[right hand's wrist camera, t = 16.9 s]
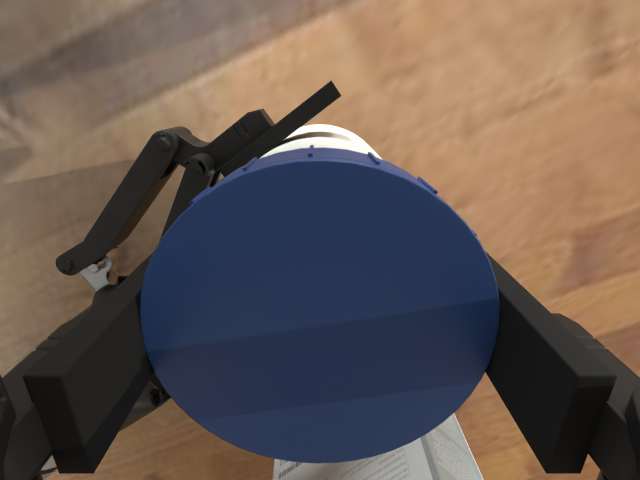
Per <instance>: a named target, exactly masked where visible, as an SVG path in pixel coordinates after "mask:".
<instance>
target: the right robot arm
mask: <svg viewBox="0 0 640 480" xmlns="http://www.w3.org/2000/svg"><path fill="white" fill-rule="evenodd" d="M153 253H154V252H153ZM153 253H152V254H151V255H150V256H149V257H148V258H147V259H146V260H145V261H144V262H143V263H142V264H141V265H140V266H138V267H137V268H136V269H135V270H134V271H133V272H132V273H131V274H130V275H129V276H128V277H127V278H126V279H125V280H124V281H123V282H122V283H120V284H119V285H118V286H117V287H116V288H115V289H114V290H113V291H112V292H111V293H110V294H109V295H108V296H107V297H106V298H105V299H103V300H102V301H101V302H100V303H99V304H98V305H97V306H96V307H95V308H94V309H93V310H92V311H91V312H90V313H89V314H88V315H79V316H77V317H75V318H74V319H72V320H70V321H68V322H66V323H65V324H63V325H61V326H60V327H59V328H58V329H57V330H56V331H54V332H53V333H52V334H51V335H50V336H49V337H48V338H47V340H44V341H43V342H42V343H41V344H40V345H39V346H38V347H36V350H35V351H32V352H31V353H30V354H29V355H27V356H26V357H25V358H24V359H23V360H22V361H21V362H20V363H18V364H17V365H16V366H15V367H14V368H13V369H12V370H11V371H9V372H8V373H7V374H6V375H5V376H4V377H3V378H1V375H0V480H43V478H42V475H41V473H40V470H41V469H42V468H43V466H44V465H45V464H46V462H47V461H48V460H49V458H50V457H51V456H53V458H54V461H55V464H56V466H57V469H58V471H59V473H94V472H95V470H96V468H97V467H98V465H99V463H100V462H101V460H102V458H103V457H104V455H105V453H106V452H107V450H108V448H109V447H110V445H111V443H112V442H113V440H114V438H115V437H116V435H117V433H118V432H119V430H120V428H121V427H122V425H123V423H124V422H125V420H126V418H127V417H128V415H129V413H130V412H131V410H132V408H133V407H134V405H135V403H136V402H137V400H138V398H139V397H140V395H141V393H142V392H143V390H144V388H145V387H146V385H147V383H148V382H149V380H150V378H151V377H152V375H153V373H154V370H153V367H152V365H151V363H150V360H149V358H148V356H147V353H146V349H145V345H144V341H143V336H142V331H141V323H140V300H141V291H142V286H143V282H144V277H145V273H146V271H147V268H148V265H149V263H150V260H151V258H152V255H153ZM485 253H486V252H485ZM486 255H487V257H488V259H489V260H490V263H491V266H492V269H493V272H494V276H495V279H496V282H497V288H498V295H499V302H500V318H499V329H498V335H497V340H496V344H495V348H494V351H493V354H492V357H491V360H490V363H489V365H488V367H487V369H486V371H485V372H486V374H487V375H488V377H489V379H490V380H491V382H492V384H493V385H494V387H495V389H496V390H497V392H498V394H499V395H500V397H501V399H502V400H503V402H504V404H505V405H506V407H507V409H508V410H509V412H510V414H511V415H512V417H513V419H514V420H515V422H516V424H517V425H518V427H519V429H520V430H521V432H522V434H523V435H524V437H525V439H526V440H527V442H528V444H529V445H530V447H531V449H532V450H533V452H534V454H535V455H536V457H537V459H538V460H539V462H540V464H541V465H542V467H543V469H544V470H545V472H546V473H581V471H582V468H583V465H584V463H585V460H586V458H587V455H588V454H589V455H590V457H591V458H592V459H593V461H594V462H595V463H596V465H597V466H598V467H599V469H600V473H599V475H598V478H597V480H640V378H639V377H638V376H637V375H636V374H635V373H634V372H633V371H631V370H630V369H629V368H628V367H627V366H626V365H625V364H624V363H622V362H621V361H620V360H619V359H618V358H617V357H616V356H614V355H613V354H612V353H611V352H610V351H609V350H608V349H605V348H604V346H603V345H602V344H601V343H600V342H599V341H597V340H596V339H593V336H592V335H591V334H590V333H588V332H587V331H586V330H585V329H584V328H583V327H582V326H580V325H579V324H578V323H576V322H574V321H572V320H571V319H569V318H567V317H565V316H563V315H561V314H551V313H550V312H549V311H548V310H547V309H546V308H545V307H544V306H543V305H542V304H541V303H539V302H538V301H537V300H536V299H535V298H534V297H533V296H532V295H531V294H530V293H529V292H528V291H527V290H526V289H525V288H524V287H522V286H521V285H520V284H519V283H518V282H517V281H516V280H515V279H514V278H513V277H512V276H511V275H510V274H509V273H508V272H507V271H506V270H504V269H503V268H502V267H501V266H500V265H499V264H498V263H497V262H496V261H495V260H494V259H493V258H492V257H491V256H490V255H489V254H487V253H486Z"/></svg>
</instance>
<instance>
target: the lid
mask: <svg viewBox="0 0 640 480" xmlns="http://www.w3.org/2000/svg"><path fill="white" fill-rule="evenodd" d="M437 193H438V191H436V190H435V189H434V188H433V187H431V186H430V185H429V184H428V183H426V182H425V181H424V180H423V179H422V178H420V177H418V178H417V179H416V178H415V177H414V176H412V175H411V174H410V173H408V172H406V171H404V170H403V169H401V168H399V167H397V166H395V165H394V164H392V163H390V162H387V161H385V160H382V159H379V158H377V157H375V156H374V155H373V154H372V153H371V152H368V154H364V153H360V152H356V151H351V150H347V149H337V148H326V147H320V148H314V145H310V148H300V149H295V150H289V151H283V152H278V153H275V154H272V155H269V156H266V157H263V158H260V159H257V157H254V158H253V159H252V160H251V161H250V162H249V163H247V164H246V165H244V166H242V167H240V168H238V169H237V170H235V171H234V172H232V173H231V174H229V175H228V176H226V177H225V178H223V179H222V180H220V181H219V182H218V183H217V184H215V185H214V186H213V187H212V188H211V187H210V186H208V187H207V188H206V189H205V190H204V191H202V192H201V193H200V194H199V195H197V196H196V197H195V198H194V199H193V200H191V201H190V202H189V203H190V204H191V206H190V207H189V208H188V209H187V210H186V211H184V212H183V213H182V214H181V215H180V216H179V217H178V218H177V220H176V221H175V222H174V223H173V224H172V226H171V227H170V228H169V229H168V231H167V232H166V233H165V234H164V236H163V238H162V239H161V241H160V243H159V244H158V246H157V248H156V250H155V251H154V253H153V255H152V258H151V260H150V263H149V265H148V268H147V271H146V273H145V277H144V282H143V286H142V291H141V300H140V323H141V331H142V336H143V341H144V345H145V349H146V353H147V356H148V358H149V360H150V363H151V365H152V367H153V370H154V372H155V374H156V375H157V377H158V379H159V380H160V382H161V384H162V385H163V387H164V389H165V390H166V391H167V392H168V394H169V395H170V396H171V397H172V399H173V400H174V401H175V402H176V404H177V405H178V406H179V407H180V408H181V409H182V410H183V411H184V412H185V413H186V414H188V415H189V416H190V417H191V418H192V419H193V420H195V421H196V422H197V423H198V424H200V425H201V426H202V427H204V428H205V429H206V430H208V431H209V432H211V433H213V434H214V435H216V436H218V437H219V438H221V439H223V440H225V441H227V442H229V443H231V444H233V445H235V446H237V447H239V448H242V449H245V450H248V451H250V452H253V453H256V454H259V455H263V456H267V457H271V458H274V459H279V460H286V461H292V462H301V463H339V462H347V461H355V460H360V459H365V458H369V457H374V456H377V455H380V454H383V453H387V452H390V451H393V450H395V449H397V448H400V447H402V446H404V445H407V444H409V443H411V442H413V441H415V440H417V439H418V438H420V437H422V436H424V435H426V434H427V433H429V432H430V431H432V430H433V429H434V428H436V427H437V426H439V425H440V424H442V423H443V422H444V421H445V420H446V419H448V418H449V417H450V416H451V415H452V414H453V413H454V412H455V411H456V410H458V409H459V407H460V406H461V405H462V404H463V403H464V402H465V401H466V399H467V398H468V397H469V396H470V395H471V394H472V392H473V391H474V389H475V388H476V386H477V385H478V383H479V382H480V380H481V379H482V377H483V375H484V373H485V371H486V369H487V367H488V365H489V363H490V360H491V357H492V354H493V351H494V348H495V344H496V340H497V335H498V329H499V318H500V302H499V295H498V288H497V282H496V279H495V276H494V272H493V269H492V266H491V263H490V260H489V259H488V257H487V255H486V253H485V251H484V249H483V247H482V245H481V243H480V241H479V240H478V238H477V237H476V236H477V235H476V233H475V232H473V231H472V230H471V229H470V227H469V226H468V224H467V223H466V222H465V221H464V220H463V219H462V218H461V217H460V216H459V215H458V214H457V213H456V212H455V211H454V210H453V209H452V208H451V207H450V206H449V205H448V204H447V203H446V202H444V201H443V200H442V199H441V198H440V197H439V196H437V195H436V194H437Z"/></svg>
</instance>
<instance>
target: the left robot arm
mask: <svg viewBox="0 0 640 480" xmlns="http://www.w3.org/2000/svg"><path fill="white" fill-rule="evenodd" d="M340 96H341V95H340V93H339V92H338V90H337V88H336V87H335V85H334V84H333V82H332V81H330V82H329V83H328V84H326V85H325V86H324V87H322V88H321V89H320V90H319V91H317V92H316V93H315V94H314V95H312V96H311V97H310V98H308V99H307V100H306V101H305V102H303V103H302V104H301V105H299V106H298V107H297V108H296V109H294V110H293V111H292V112H291V113H289V114H288V115H287V116H285V117H284V118H283V119H282V120H280V121H279V122H278V123H276V124H274V122H273V121H272V120H271V118H270V117H269V116H268V114H267V113H266V112H265V110H264V109H260V110H256V111H252V112H248V113H247V114H246V115H244V116H243V117H242V118H241V119H239V120H238V121H237V122H236V123H234V124H233V125H232V126H231V127H229V128H228V129H227V130H226V131H225V132H223V133H222V134H221V135H220V136H218V137H217V138H216V139H215V140H213V141H212V142H211V143H207V142H203V141H201V140H199V139H198V138H196V137H195V136H193V135H192V133H191V132H190V131H189V130H188V129H187V128H185V127H180V126H179V127H175V128H170V129H165V130H161V131H158V132H155V133H154V134H153V135H152V137H151V138H150V140H149V141H148V143H147V144H146V146H145V147H144V149H143V150H142V152H141V153H140V155H139V157H138V158H137V160H136V161H135V163H134V164H133V166H132V167H131V169H130V170H129V172H128V173H127V175H126V176H125V178H124V180H123V181H122V183H121V184H120V186H119V187H118V189H117V190H116V192H115V193H114V195H113V196H112V198H111V200H110V201H109V203H108V204H107V206H106V207H105V209H104V210H103V212H102V213H101V215H100V216H99V218H98V219H97V221H96V223H95V224H94V226H93V227H92V229H91V230H90V232H89V233H88V235H87V236H86V238H85V239H84V241H83V242H81V243H80V244H78V245H77V246H75V247H73V248H72V249H70V250H68V251H67V252H65V253H64V254H62V255H60V256H59V257H58V258H57V259H56V266H57V268H58V269H59V271H61V272H62V273H63V274H66V275H75V274H77V273H78V272H79V273H80V274H81V275H82V276H83V277H84V279H85V280H86V281H87V282H88V283H89V284H90V285H91V286H92V287H93V288H94V290H95V291H96V293H95V295H94V298H93V302H92V305H91V306H89V307H88V308H87V309H86V310H84V311H83V312H82V313H80V314H79V315H88V314H89V313H90V312H91V311H92V310H93V309H94V308H95V307H96V306H97V305H98V304H99V303H100V302H101V301H102V300H103V299H105V298H106V297H107V296H108V295H109V294H110V293H111V292H112V291H113V290H114V289H115V288H116V287H117V286H118V285H119V284H120V283H122V282H123V281H124V280H125V279H126V278H127V277H128V276H117V275H116V273H115V266H116V265H117V263H118V262H119V260H120V253H121V250H120V248H118V247H117V246H118V245H119V244H121V243H122V242H123V241H124V240H125V239H126V238H127V237H128V236H129V235H130V234H131V232H132V231H133V229H134V228H135V227H136V225H137V224H138V222H139V221H140V219H141V218H142V217H143V215H144V214H145V212H146V211H147V209H148V208H149V206H150V205H151V204H152V202H153V201H154V199H155V198H156V196H157V195H158V194H159V192H160V191H161V189H162V188H163V186H164V185H165V184H166V182H167V181H168V179H169V178H170V176H171V175H172V173H173V172H174V171H175V169H176V168H177V166H178V165H179V164H180V165H182V166H183V167H185V168H186V169H185V172H184V175H183V178H182V180H181V183H180V186H179V189H178V192H177V194H176V197H175V200H174V203H173V205H172V208H171V211H170V214H169V217H168V219H167V222H166V225H165V228H164V230H163V233H162V236H161V239H162V238H163V236H164V234H165V233H166V232H167V231H168V229H169V228H170V227H171V226H172V224H173V223H174V222H175V221H176V220H177V218H178V217H179V216H180V215H181V214H182V213H183V212H184V211H186V210H187V209H188V208H189V207H190V206H191V204H190V203H189V202H190V201H191V200H193V199H194V198H195V197H196V196H197V195H199V194H200V193H201V192H202V191H204V190H205V189H206V188H207V187H208V186H210V187H211V188H212V187H213V186H214V185H215V184H217V182H218V180H219V177H220V175H221V173H222V174H223V176H224V177H226V176H228V175H229V174H231V173H232V172H234V171H235V170H237V169H238V168H240V167H242V166H244V165H246V164H247V163H249V162H250V161H251V160H252V159H253V158H254V157H257V159H259V158H261V157H262V156H263V155H265V154H266V153H267V152H268V151H270V150H271V149H272V148H274V147H275V146H276V145H278V144H279V143H280V142H282V141H283V140H284V139H285V138H287V137H288V136H289V135H291V134H292V133H293V132H295V131H296V130H297V129H299V128H300V127H301V126H302V125H304V124H305V123H306V122H308V121H309V120H310V119H312V118H313V117H314V116H315V115H317V114H318V113H319V112H321V111H322V110H323V109H325V108H326V107H327V106H329V105H330V104H331V103H332V102H334V101H335V100H336V99H338V98H339V97H340ZM161 239H160V241H161ZM159 243H160V242H159ZM79 315H78V316H79ZM76 317H77V316H76ZM46 340H47V339H46ZM40 344H41V343H40ZM40 344H39V345H40ZM39 345H38V346H39ZM38 346H36V347H38ZM36 347H35V348H34V349H32V350H31V351H30V352H28V353H27V354H26V355H24V356H23V357H22V358H20V359H19V360H18V361H16V362H15V363H14V364H12V365H11V366H10V367H8V368H7V369H6V370H4V371H3V372H2V373H1V374H0V375H1V378H3V377H4V376H5V375H6V374H7V373H8V372H9V371H11V370H12V369H13V368H14V367H15V366H16V365H17V364H18V363H20V362H21V361H22V360H23V359H24V358H25V357H26V356H27V355H29V354H30V353H31V352H32V351H35V350H36ZM170 398H171V396H170V395H169V394H168V392H167V391H166V390H165V389H164V387H163V385H162V384H161V382H160V380H159V379H158V377H157V375H156V374H155V372H154V373H153V375H152V377H151V378H150V380H149V382H148V383H147V385H146V387H145V388H144V390H143V392H142V393H141V395H140V397H139V398H138V400H137V402H136V403H135V405H134V407H133V408H132V410H131V412H130V413H129V415H128V417H127V418H126V420H125V422H124V423H123V425H122V427H121V428H120V430H119V431H121V430H123V429H125V428H126V427H128V426H129V425H131V424H133V423H134V422H136V421H137V420H139V419H141V418H142V417H144V416H145V415H147V414H149V413H150V412H152V411H154V410H155V409H157V408H158V407H160V406H161V405H163V404H164V403H165V402H166V401H168V400H169V399H170ZM57 470H58V469H57V466H56V464H55V461H54V458H53V456H51V457H50V458H49V460H48V461H47V462H46V464H45V465H44V466H43V468H42V469H41V470H40V473H41V475H42V478H43V479H44V478H46V477H47V476H49V475H50V474H52V473H53V472H55V471H57Z"/></svg>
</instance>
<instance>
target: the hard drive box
mask: <svg viewBox="0 0 640 480" xmlns="http://www.w3.org/2000/svg"><path fill="white" fill-rule="evenodd" d="M273 480H484V479H483V477H482V475H481V473H480V470H479V468H478V466H477V464H476V462H475V459H474V457H473V455H472V453H471V450H470V448H469V446H468V444H467V441H466V439H465V437H464V434H463V432H462V430H461V428H460V425H459V423H458V421H457V419H456V416H455V414H454V413H453V414H452V415H451V416H450V417H449V418H448V419H446V420H445V421H444V422H443V423H442V424H440V425H439V426H437V427H436V428H434V429H433V430H432V431H430V432H429V433H427V434H426V435H424V436H422V437H420V438H418V439H417V440H415V441H413V442H411V443H409V444H407V445H404V446H402V447H400V448H397V449H395V450H393V451H390V452H387V453H383V454H380V455H377V456H374V457H369V458H365V459H360V460H355V461H347V462H339V463H301V462H292V461H286V460H279V459H275V461H274V471H273Z"/></svg>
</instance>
